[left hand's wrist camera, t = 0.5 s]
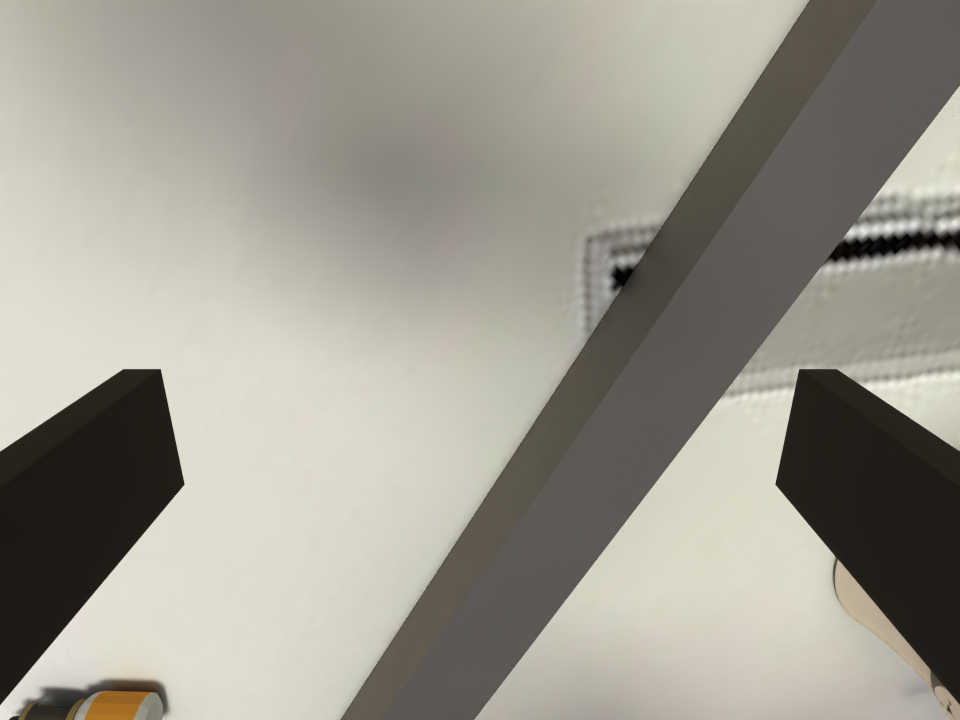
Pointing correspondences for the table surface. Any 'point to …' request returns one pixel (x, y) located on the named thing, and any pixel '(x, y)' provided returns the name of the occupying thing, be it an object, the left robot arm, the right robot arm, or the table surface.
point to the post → (675, 338)
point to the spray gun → (101, 708)
